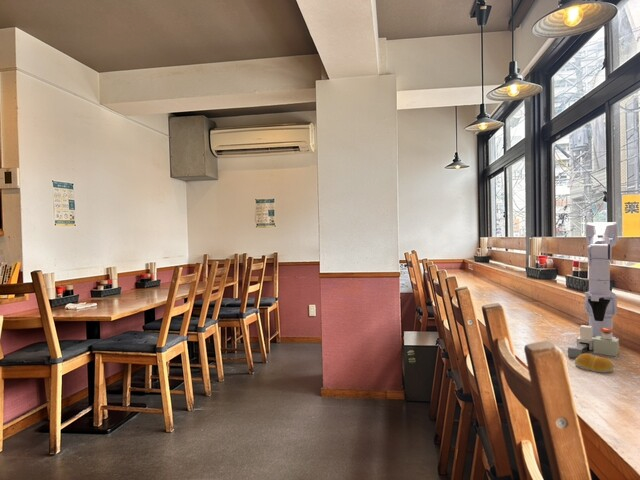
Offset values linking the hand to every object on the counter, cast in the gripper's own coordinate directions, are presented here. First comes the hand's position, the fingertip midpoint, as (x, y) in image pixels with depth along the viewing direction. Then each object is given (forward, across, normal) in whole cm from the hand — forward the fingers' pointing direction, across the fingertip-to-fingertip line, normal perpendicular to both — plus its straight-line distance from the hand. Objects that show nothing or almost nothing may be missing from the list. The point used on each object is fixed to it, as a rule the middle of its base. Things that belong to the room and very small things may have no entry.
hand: (598, 320), depth 134 cm
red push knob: (+7, +1, +2) cm, 8 cm away
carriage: (+10, -2, -4) cm, 11 cm away
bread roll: (+11, +23, +2) cm, 25 cm away
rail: (+10, +4, -4) cm, 11 cm away
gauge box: (+10, +1, +2) cm, 10 cm away
